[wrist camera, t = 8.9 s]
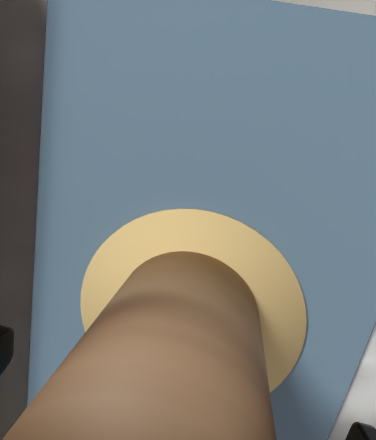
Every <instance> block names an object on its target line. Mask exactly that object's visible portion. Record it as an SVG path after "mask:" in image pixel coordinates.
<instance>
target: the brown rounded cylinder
mask: <svg viewBox="0 0 376 440" xmlns="http://www.w3.org/2000/svg"><path fill="white" fill-rule="evenodd" d="M2 440H276V433H275V426H274V419H273V411H272V404H271V397H270V390H269V383H268V375H267V368H266V361H265V354H264V347H263V339H262V332H261V325H260V318H259V311H258V307H257V303H256V300H255V298H254V295H253V293H252V291H251V289H250V288H249V286H248V285H247V283H246V282H245V281H244V279H243V278H242V277H241V276H240V275H239V274H238V273H237V272H236V271H235V270H233V269H232V268H231V267H229V266H228V265H227V264H225V263H223V262H222V261H220V260H218V259H215V258H213V257H211V256H208V255H205V254H201V253H196V252H189V251H177V252H169V253H164V254H160V255H158V256H155V257H153V258H151V259H149V260H147V261H145V262H144V263H142V264H141V265H139V266H138V267H137V268H136V269H135V270H134V271H133V272H132V273H131V275H130V276H129V277H128V278H127V280H126V281H125V282H124V283H123V285H122V286H121V287H120V289H119V290H118V291H117V292H116V294H115V295H114V296H113V298H112V299H111V300H110V301H109V303H108V304H107V305H106V307H105V308H104V309H103V310H102V312H101V313H100V314H99V316H98V317H97V318H96V319H95V321H94V322H93V323H92V324H91V326H90V327H89V328H88V330H87V331H86V332H85V333H84V335H83V336H82V337H81V339H80V340H79V341H78V342H77V344H76V345H75V346H74V348H73V349H72V350H71V351H70V353H69V354H68V355H67V357H66V358H65V359H64V360H63V362H62V363H61V364H60V366H59V367H58V368H57V369H56V371H55V372H54V373H53V374H52V376H51V377H50V378H49V380H48V381H47V382H46V383H45V385H44V386H43V387H42V389H41V390H40V391H39V392H38V394H37V395H36V396H35V398H34V399H33V400H32V401H31V403H30V404H29V405H28V407H27V408H26V409H25V410H24V412H23V413H22V414H21V415H20V417H19V418H18V419H17V421H16V422H15V423H14V424H13V426H12V427H11V428H10V430H9V431H8V432H7V433H6V435H5V436H4V437H3V439H2Z"/></svg>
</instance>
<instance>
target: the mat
mask: <svg viewBox="0 0 376 440" xmlns="http://www.w3.org/2000/svg"><path fill="white" fill-rule="evenodd" d="M177 251H189V252H196V253H201V254H205V255H208V256H211V257H213V258H215V259H218V260H220V261H222V262H223V263H225V264H227V265H228V266H229V267H231V268H232V269H233V270H235V271H236V272H237V273H238V274H239V275H240V276H241V277H242V278H243V279H244V281H245V282H246V283H247V285H248V286H249V288H250V289H251V291H252V293H253V295H254V298H255V300H256V303H257V307H258V311H259V318H260V325H261V332H262V339H263V347H264V354H265V361H266V368H267V375H268V383H269V390H270V397H271V404H272V411H273V419H274V426H275V433H276V440H328V437H329V435H330V432H331V430H332V428H333V425H334V423H335V420H336V418H337V415H338V413H339V411H340V408H341V406H342V403H343V401H344V398H345V396H346V394H347V391H348V389H349V386H350V384H351V381H352V379H353V377H354V374H355V372H356V369H357V367H358V364H359V362H360V360H361V357H362V355H363V352H364V350H365V347H366V345H367V343H368V340H369V338H370V335H371V333H372V330H373V328H374V326H375V323H376V16H372V15H365V14H358V13H352V12H345V11H338V10H331V9H325V8H318V7H311V6H305V5H298V4H291V3H284V2H278V1H271V0H47V20H46V40H45V59H44V79H43V99H42V119H41V139H40V159H39V178H38V198H37V218H36V238H35V258H34V277H33V297H32V317H31V337H30V357H29V376H28V396H27V407H28V405H29V404H30V403H31V401H32V400H33V399H34V398H35V396H36V395H37V394H38V392H39V391H40V390H41V389H42V387H43V386H44V385H45V383H46V382H47V381H48V380H49V378H50V377H51V376H52V374H53V373H54V372H55V371H56V369H57V368H58V367H59V366H60V364H61V363H62V362H63V360H64V359H65V358H66V357H67V355H68V354H69V353H70V351H71V350H72V349H73V348H74V346H75V345H76V344H77V342H78V341H79V340H80V339H81V337H82V336H83V335H84V333H85V332H86V331H87V330H88V328H89V327H90V326H91V324H92V323H93V322H94V321H95V319H96V318H97V317H98V316H99V314H100V313H101V312H102V310H103V309H104V308H105V307H106V305H107V304H108V303H109V301H110V300H111V299H112V298H113V296H114V295H115V294H116V292H117V291H118V290H119V289H120V287H121V286H122V285H123V283H124V282H125V281H126V280H127V278H128V277H129V276H130V275H131V273H132V272H133V271H134V270H135V269H136V268H137V267H138V266H139V265H141V264H142V263H144V262H145V261H147V260H149V259H151V258H153V257H155V256H158V255H160V254H164V253H169V252H177Z"/></svg>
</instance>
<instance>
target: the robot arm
mask: <svg viewBox="0 0 376 440" xmlns="http://www.w3.org/2000/svg"><path fill="white" fill-rule="evenodd" d="M13 348H14V331H13V329H12V328H10V327H6V326H3V325H0V375H1V374H2V372H3V371H4V370H5V368H6V367H7V366H8V364H9V363H10V361H11V359H12V356H13ZM346 440H376V429H375V428H374V427H373V426H370V425H367V424H363V423H360V422H355V423H353V424H352V426H351V428H350V430H349V433H348V435H347V437H346Z"/></svg>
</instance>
